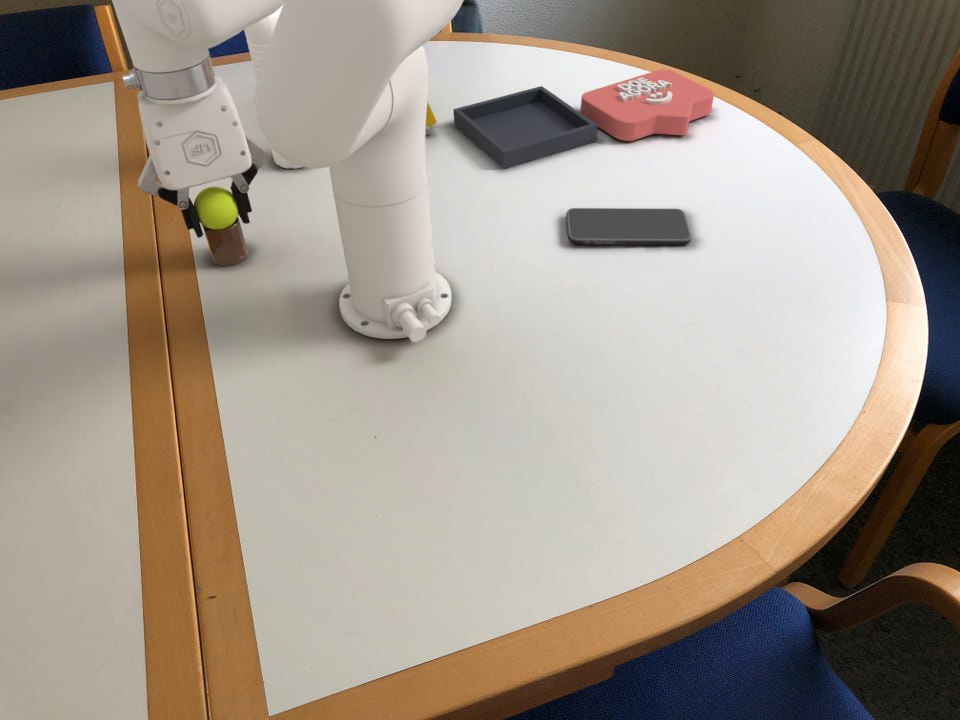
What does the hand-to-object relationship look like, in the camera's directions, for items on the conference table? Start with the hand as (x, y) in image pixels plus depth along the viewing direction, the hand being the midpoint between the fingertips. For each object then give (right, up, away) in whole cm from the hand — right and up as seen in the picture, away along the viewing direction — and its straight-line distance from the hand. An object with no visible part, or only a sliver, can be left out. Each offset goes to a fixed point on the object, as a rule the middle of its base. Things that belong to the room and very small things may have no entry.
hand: (220, 223), depth 94 cm
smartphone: (+49, 0, +5) cm, 49 cm away
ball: (0, +2, -1) cm, 2 cm away
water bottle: (+3, +13, +21) cm, 25 cm away
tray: (+37, +18, +24) cm, 48 cm away
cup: (0, -3, +3) cm, 5 cm away
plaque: (+57, +21, +27) cm, 66 cm away
